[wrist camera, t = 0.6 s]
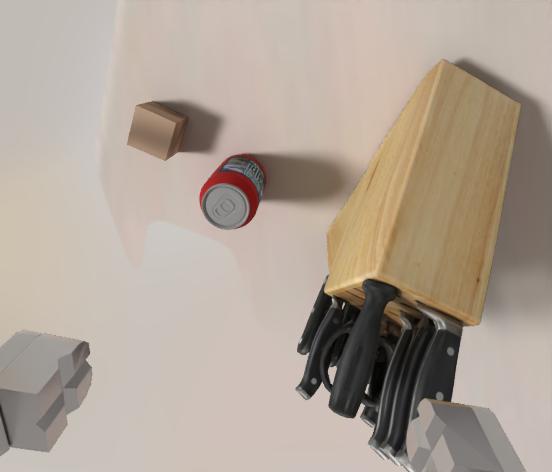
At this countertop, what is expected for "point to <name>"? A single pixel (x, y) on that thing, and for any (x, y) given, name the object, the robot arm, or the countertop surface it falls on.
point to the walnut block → (157, 130)
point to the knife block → (412, 257)
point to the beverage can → (233, 192)
